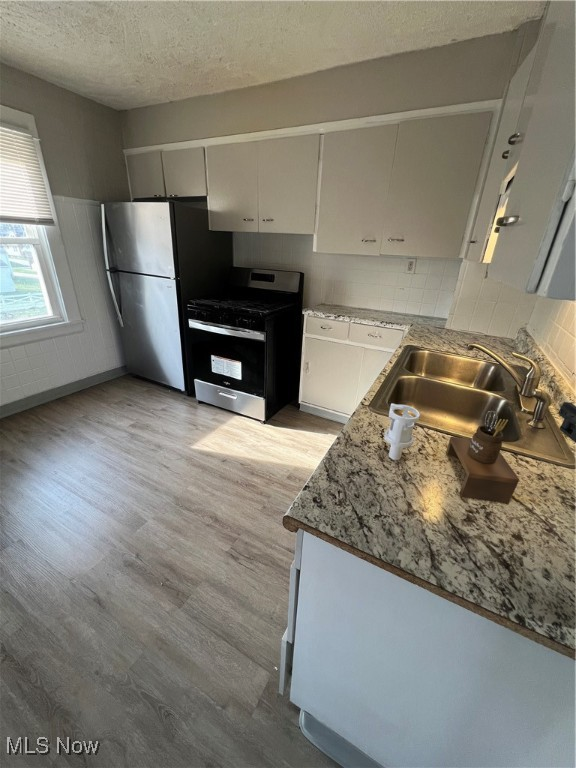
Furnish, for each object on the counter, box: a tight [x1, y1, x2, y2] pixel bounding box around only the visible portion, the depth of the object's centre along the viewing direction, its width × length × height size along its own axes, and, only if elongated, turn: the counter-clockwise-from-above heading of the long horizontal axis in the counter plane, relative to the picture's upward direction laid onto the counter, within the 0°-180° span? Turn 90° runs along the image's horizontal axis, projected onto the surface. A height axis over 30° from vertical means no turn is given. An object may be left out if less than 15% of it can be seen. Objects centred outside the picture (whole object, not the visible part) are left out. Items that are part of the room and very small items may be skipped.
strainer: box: [384, 402, 421, 461], centre depth 80 cm, size 7×7×15 cm
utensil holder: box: [468, 410, 509, 463], centre depth 71 cm, size 6×6×12 cm
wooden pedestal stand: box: [445, 436, 520, 505], centre depth 75 cm, size 10×14×7 cm
